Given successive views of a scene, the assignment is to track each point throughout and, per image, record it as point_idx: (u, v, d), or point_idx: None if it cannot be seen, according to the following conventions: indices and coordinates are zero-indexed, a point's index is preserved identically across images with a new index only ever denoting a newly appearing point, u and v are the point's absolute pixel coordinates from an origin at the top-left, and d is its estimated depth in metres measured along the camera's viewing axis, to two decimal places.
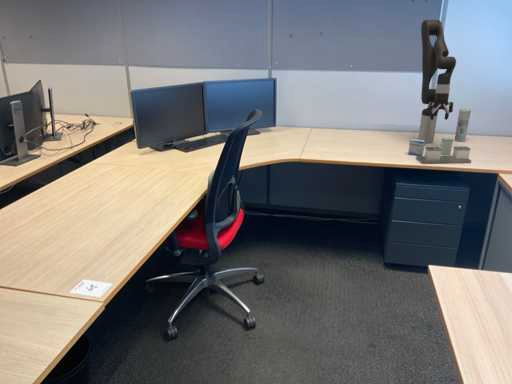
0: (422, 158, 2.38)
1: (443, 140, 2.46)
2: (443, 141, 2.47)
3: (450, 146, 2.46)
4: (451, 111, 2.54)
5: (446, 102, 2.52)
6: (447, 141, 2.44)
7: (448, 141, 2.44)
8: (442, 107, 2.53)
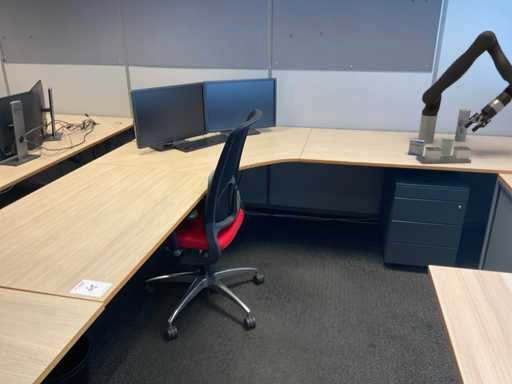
0: (422, 158, 2.38)
1: (443, 140, 2.46)
2: (443, 141, 2.47)
3: (450, 146, 2.46)
4: None
5: None
6: (447, 141, 2.44)
7: (448, 141, 2.44)
8: None
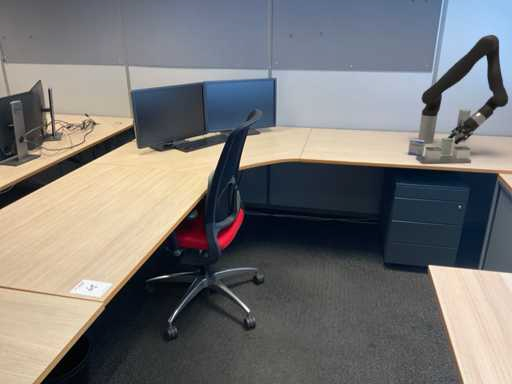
0: (422, 158, 2.38)
1: (443, 140, 2.46)
2: (443, 141, 2.47)
3: (450, 146, 2.46)
4: None
5: None
6: (447, 141, 2.44)
7: (448, 141, 2.44)
8: None
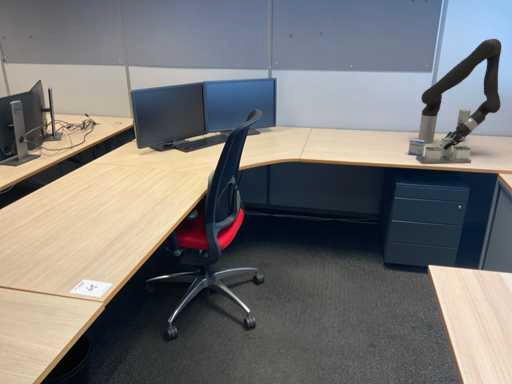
0: (422, 158, 2.38)
1: (443, 140, 2.46)
2: (443, 141, 2.47)
3: (450, 146, 2.46)
4: None
5: None
6: (447, 141, 2.44)
7: (448, 141, 2.44)
8: None
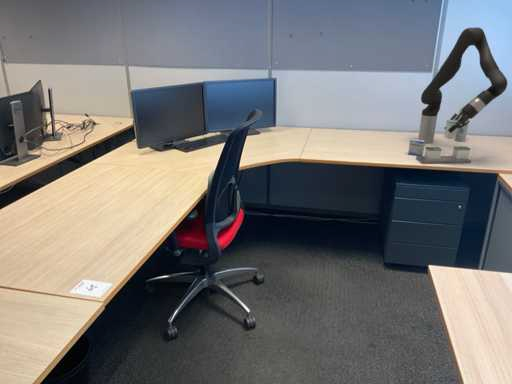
0: (422, 158, 2.38)
1: (448, 122, 2.30)
2: (448, 123, 2.30)
3: (455, 129, 2.29)
4: None
5: None
6: (452, 123, 2.28)
7: (453, 123, 2.28)
8: None
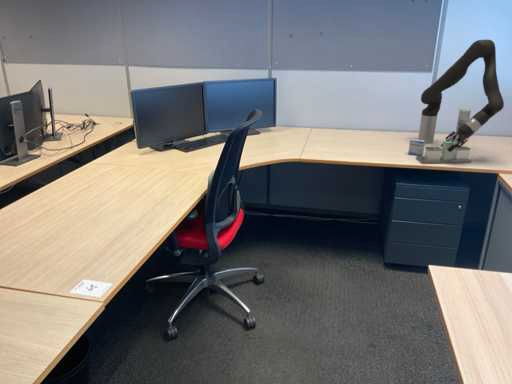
0: (422, 158, 2.38)
1: (444, 143, 2.34)
2: (444, 144, 2.35)
3: (452, 150, 2.34)
4: None
5: None
6: (449, 144, 2.33)
7: (450, 144, 2.33)
8: None
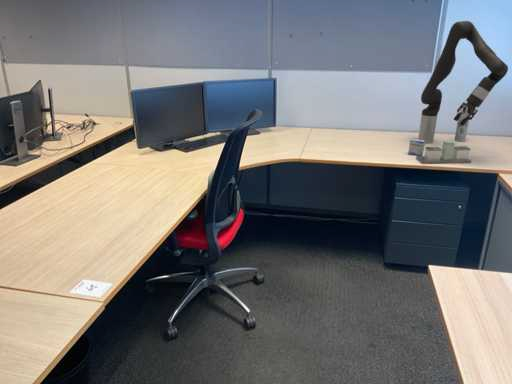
0: (422, 158, 2.38)
1: (444, 143, 2.34)
2: (444, 144, 2.35)
3: (452, 150, 2.34)
4: None
5: None
6: (449, 144, 2.33)
7: (450, 144, 2.33)
8: None
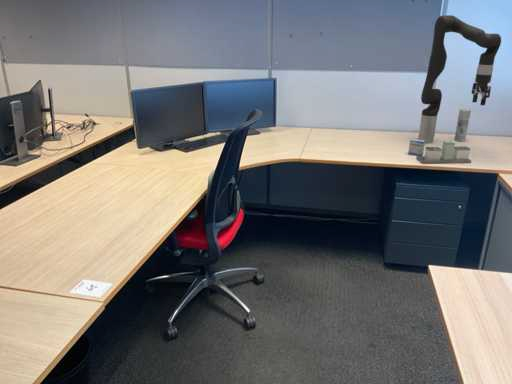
0: (422, 158, 2.38)
1: (444, 143, 2.34)
2: (444, 144, 2.35)
3: (452, 150, 2.34)
4: None
5: None
6: (449, 144, 2.33)
7: (450, 144, 2.33)
8: None
